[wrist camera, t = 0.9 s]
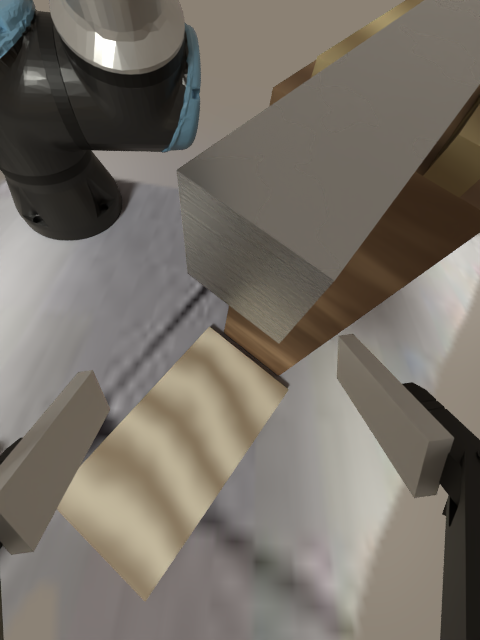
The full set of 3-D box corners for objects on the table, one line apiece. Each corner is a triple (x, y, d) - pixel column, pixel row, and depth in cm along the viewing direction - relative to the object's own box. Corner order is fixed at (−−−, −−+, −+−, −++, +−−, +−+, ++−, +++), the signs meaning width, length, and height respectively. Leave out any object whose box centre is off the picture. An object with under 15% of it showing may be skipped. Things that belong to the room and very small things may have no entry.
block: (278, 343, 6) (334, 280, 4) (187, 273, 7) (176, 170, 4) (502, 47, 15) (567, -35, 13) (457, 25, 16) (509, -59, 13)
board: (147, 595, 26) (145, 601, 25) (53, 498, 28) (48, 500, 27) (286, 390, 36) (288, 389, 35) (209, 329, 38) (209, 326, 37)
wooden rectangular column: (278, 375, 37) (547, 184, 8) (223, 332, 38) (283, 37, 9) (332, 300, 43) (597, 34, 14) (283, 265, 44) (431, -41, 15)
